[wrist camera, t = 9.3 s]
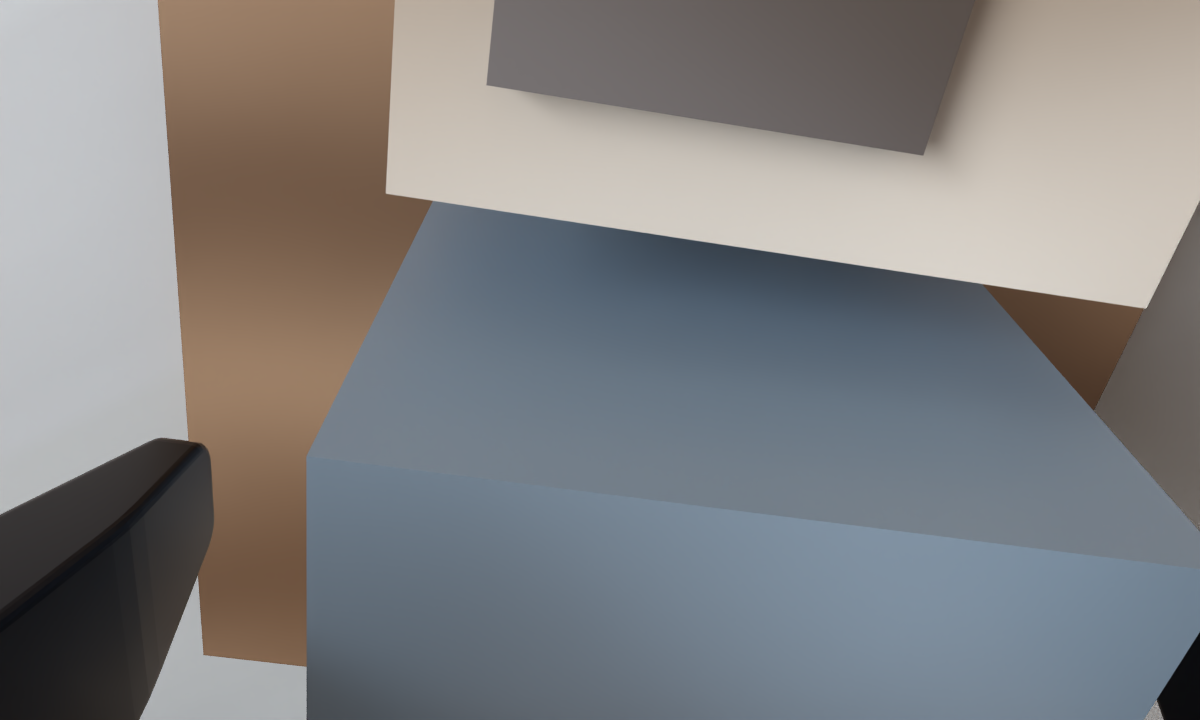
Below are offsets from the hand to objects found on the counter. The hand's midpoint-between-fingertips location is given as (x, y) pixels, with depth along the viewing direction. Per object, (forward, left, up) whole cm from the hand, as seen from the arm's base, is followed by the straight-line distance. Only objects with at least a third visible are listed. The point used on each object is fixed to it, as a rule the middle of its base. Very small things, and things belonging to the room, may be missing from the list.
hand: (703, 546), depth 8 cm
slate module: (0, 0, -5) cm, 5 cm away
